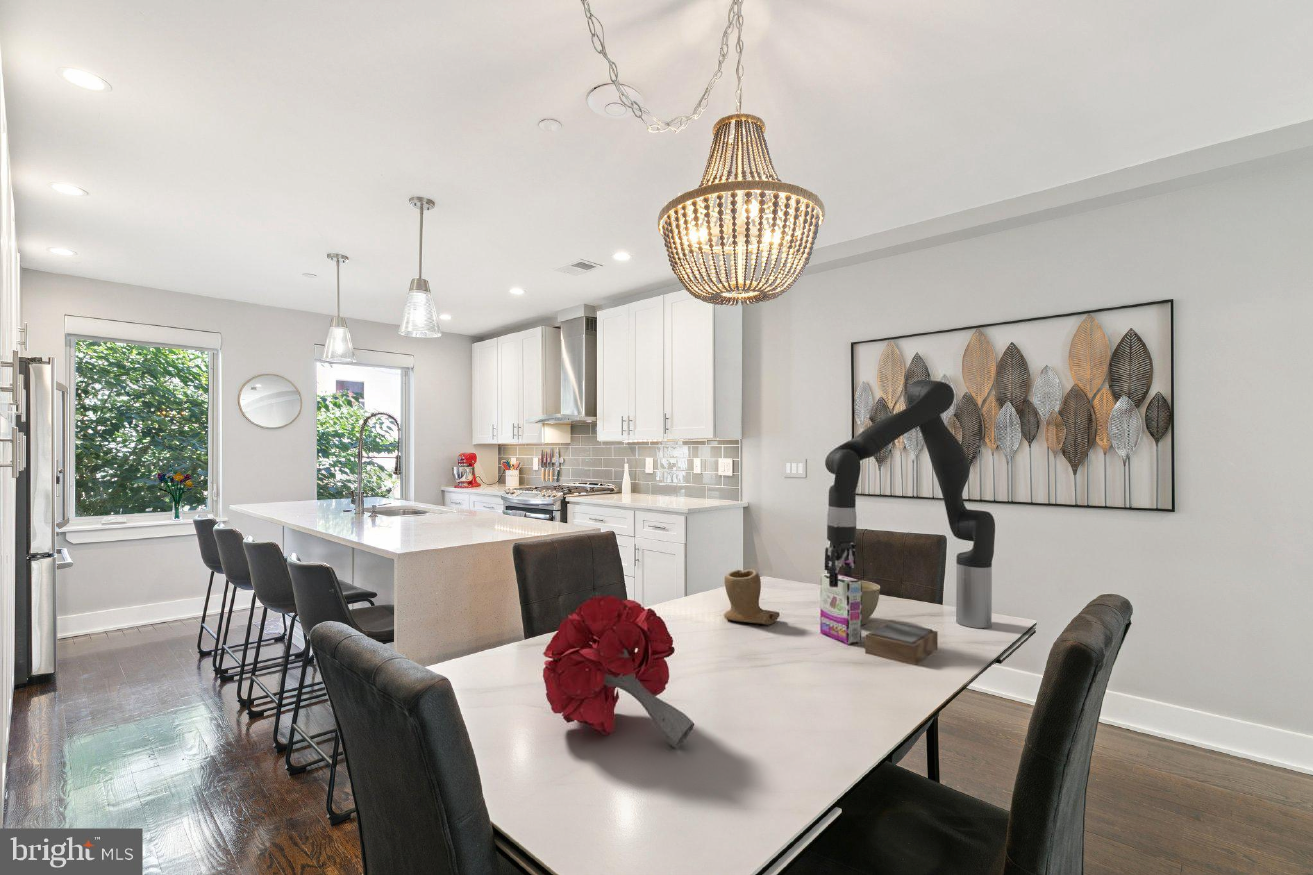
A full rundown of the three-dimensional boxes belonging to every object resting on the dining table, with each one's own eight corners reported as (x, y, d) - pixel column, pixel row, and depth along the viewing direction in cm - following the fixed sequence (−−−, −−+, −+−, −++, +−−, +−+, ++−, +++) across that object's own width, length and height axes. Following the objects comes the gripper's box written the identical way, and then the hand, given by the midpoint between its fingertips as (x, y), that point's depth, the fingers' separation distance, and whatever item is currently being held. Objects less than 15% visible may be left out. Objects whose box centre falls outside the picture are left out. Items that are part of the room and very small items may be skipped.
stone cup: (716, 623, 177) (717, 571, 177) (732, 613, 187) (732, 564, 187) (766, 631, 169) (767, 577, 169) (780, 621, 180) (780, 569, 180)
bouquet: (691, 750, 116) (584, 646, 130) (745, 657, 109) (625, 557, 122) (623, 815, 98) (506, 686, 112) (682, 708, 91) (549, 585, 105)
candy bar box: (862, 643, 160) (863, 580, 160) (847, 645, 158) (848, 581, 158) (833, 631, 170) (833, 572, 171) (819, 633, 168) (819, 573, 168)
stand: (890, 638, 164) (890, 619, 164) (937, 649, 156) (937, 629, 156) (865, 653, 152) (865, 632, 152) (914, 665, 144) (914, 643, 144)
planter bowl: (885, 619, 183) (885, 582, 183) (872, 633, 169) (873, 593, 169) (831, 611, 191) (831, 576, 191) (815, 623, 178) (815, 585, 178)
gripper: (840, 520, 172) (839, 578, 172) (816, 524, 162) (815, 585, 162) (866, 523, 167) (865, 582, 167) (842, 527, 157) (842, 590, 156)
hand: (840, 584), depth 164 cm, fingers open, 8 cm apart
